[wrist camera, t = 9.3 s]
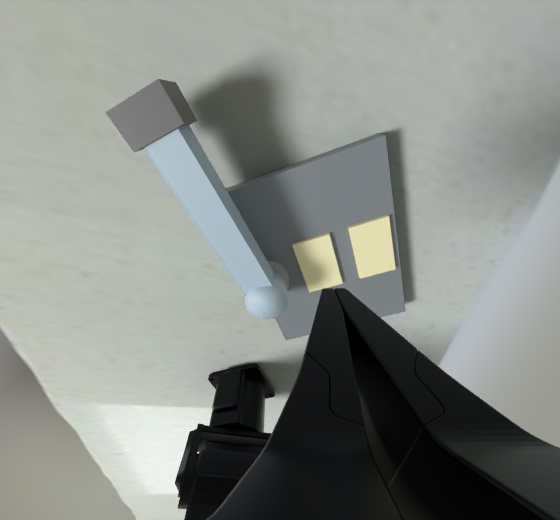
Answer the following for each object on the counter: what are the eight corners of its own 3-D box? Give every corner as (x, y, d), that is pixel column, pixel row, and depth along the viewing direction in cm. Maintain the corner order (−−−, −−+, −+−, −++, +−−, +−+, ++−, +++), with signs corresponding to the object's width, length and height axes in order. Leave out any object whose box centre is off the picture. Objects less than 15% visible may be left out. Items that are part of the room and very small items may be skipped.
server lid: (400, 302, 25) (409, 317, 23) (278, 333, 27) (278, 348, 26) (379, 133, 17) (390, 136, 15) (209, 194, 19) (202, 203, 18)
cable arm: (292, 292, 22) (294, 312, 19) (259, 304, 22) (257, 324, 20) (175, 82, 14) (158, 78, 12) (130, 111, 14) (105, 112, 12)
